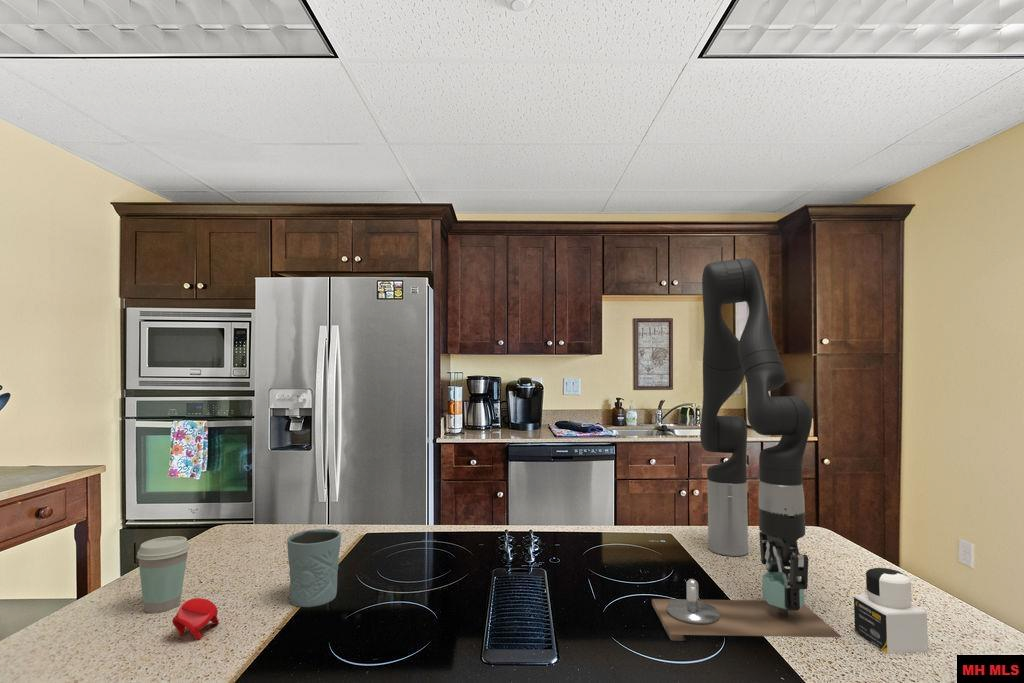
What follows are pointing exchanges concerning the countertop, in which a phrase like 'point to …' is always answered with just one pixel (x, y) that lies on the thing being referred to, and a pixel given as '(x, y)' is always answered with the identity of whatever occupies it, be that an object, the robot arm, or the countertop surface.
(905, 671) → the countertop surface
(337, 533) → the embossed green cup
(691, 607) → the steel hub
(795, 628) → the walnut board
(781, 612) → the stand rod
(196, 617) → the red toy chair
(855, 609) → the medicine bottle
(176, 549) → the coffee cup
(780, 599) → the sage ring
